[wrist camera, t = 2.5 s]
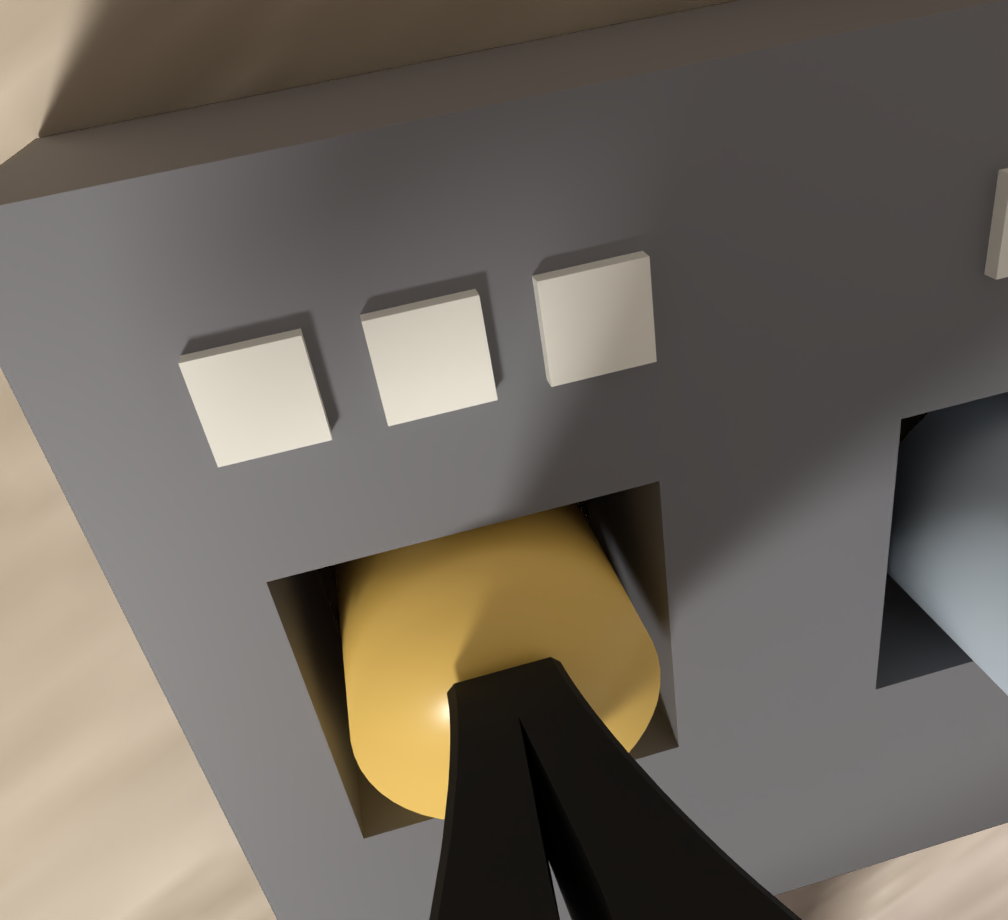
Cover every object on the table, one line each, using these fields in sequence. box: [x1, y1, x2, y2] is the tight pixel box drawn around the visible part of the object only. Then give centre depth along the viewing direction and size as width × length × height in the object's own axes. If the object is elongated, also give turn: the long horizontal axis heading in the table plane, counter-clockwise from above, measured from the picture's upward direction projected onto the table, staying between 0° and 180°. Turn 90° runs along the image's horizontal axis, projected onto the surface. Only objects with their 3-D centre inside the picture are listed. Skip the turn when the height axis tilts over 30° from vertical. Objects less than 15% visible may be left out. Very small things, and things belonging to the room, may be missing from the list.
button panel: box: [0, 0, 1008, 920], centre depth 14 cm, size 14×24×4 cm, turn 99°
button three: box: [335, 503, 660, 819], centre depth 13 cm, size 4×4×4 cm
